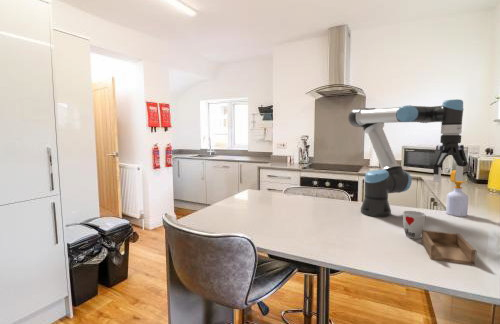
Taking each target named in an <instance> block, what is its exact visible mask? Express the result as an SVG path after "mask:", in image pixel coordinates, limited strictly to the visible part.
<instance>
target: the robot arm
mask: <svg viewBox="0 0 500 324" xmlns="http://www.w3.org/2000/svg"><path fill="white" fill-rule="evenodd" d="M347 116H348V117H347V120H348V123H349V124H350V125H351V126H353V127H355V128H363V129H362V130H363V132H364V133H365V134H368V138H369V140H370V143H371V145H372V148H373V150H374V152H375V155H376V158H377V160H378V164H379V166H380V168H381V169H375V170H370V171H367V172H366V173H365V176H364V198H363V202H362V204H361V205H360V213H361V214H363V215H365V216H368V217H378V218H386V217H387V218H388V217H390V216H392V210H391V207H390V206H391V205H390V203H389V194H396V193H403V192H406V191H408V190H409V189H410V188H411V186H412V182H413V180H412V175H410V173H409V172H407V171H404V168H403V166H402V165H400V164H398V162H397V160H396V157H395V155H394V153H393V150H392V147H391V145H390V143H389V140H388V138H387V136H386V133H385V131H384V130H385V129H384V128H385V124H389V123H422V124H427V123H441V128H440V134H441V135H440V139H439V140H440V143H441V144H442V145H439V144H437V145H436V148H435V151H434V153H433V156H432V158H431V160H430V163H429V166H430V167H432V168H433V182H437V183H441V178H442V177H441V174H442V167H441V165H442V164H443V163H444V161H445V160H446V158H447V157H448V156H452V158H453V159H454V161H455V163H456V166H455V170H456V175H455V181H462V182H463V175H464V171H463V169H464V167H467V165H468V160H467V157H466V151H465V147H464V144H461V143H462V135H461V134H462V132H463V131H462V128H463V127H462V126H463V116H464V100H462V99H447V100H443V102H442V105H434V106H425V105H424V106H421V105H420V106H418V105H411V104H410V105H401V106H395V107H383V108H375V107H367V108H366V107H355V108H353V109H352V110H351V111H350V112H349V113H348V115H347Z"/></svg>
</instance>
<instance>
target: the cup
mask: <svg viewBox="0 0 500 324" xmlns="http://www.w3.org/2000/svg"><path fill="white" fill-rule="evenodd" d="M425 222H426V213H424V212H421V211H416V210H403V211H402V223H403V224H402V225H403V230H404V234H405V236H406V237H407V238H410V239H413V240H419V239H420V238H422V230H424V229H425V228H424V227H425Z"/></svg>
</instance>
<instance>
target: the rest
mask: <svg viewBox="0 0 500 324" xmlns="http://www.w3.org/2000/svg"><path fill="white" fill-rule="evenodd" d="M421 244H422V246H423V247H424V250H425V251H426V254H427V255H428V256H429V259H431V260H435V261H442V262H449V263H458V264H463V265H469V266H475V263H476V262H475V261H476V249H475V248H474V247H473V246H472V245H471V244H470V243H469V242H468V241H467V240H466V239H465V238H464V237H463V236H462V235H461V234H460V233H452V232H443V231H435V230H434V231H433V230H425V229H423V230H422V235H421Z"/></svg>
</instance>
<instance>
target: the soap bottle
mask: <svg viewBox="0 0 500 324" xmlns="http://www.w3.org/2000/svg"><path fill="white" fill-rule="evenodd" d="M464 171H465V169H464V168H463V172H464ZM455 175H456V169H454V170H451V172H450V182H452V183H454V184H455V186H454V187H453V191H450V192H449V193H447V195H446V206H445V213H446V214H447V215H450V216H453V217H467V216H468V207H469V196H468V195H467V193H464V192H463V191H462V190H463V187H462V186H461V185H463V184H465V183H466V182H465V181H463V180H462V181H461V180H455Z"/></svg>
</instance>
